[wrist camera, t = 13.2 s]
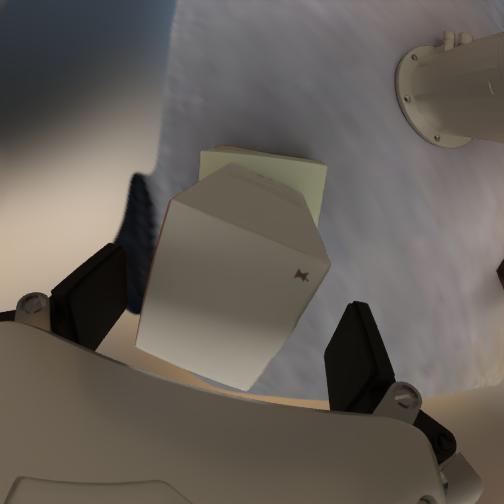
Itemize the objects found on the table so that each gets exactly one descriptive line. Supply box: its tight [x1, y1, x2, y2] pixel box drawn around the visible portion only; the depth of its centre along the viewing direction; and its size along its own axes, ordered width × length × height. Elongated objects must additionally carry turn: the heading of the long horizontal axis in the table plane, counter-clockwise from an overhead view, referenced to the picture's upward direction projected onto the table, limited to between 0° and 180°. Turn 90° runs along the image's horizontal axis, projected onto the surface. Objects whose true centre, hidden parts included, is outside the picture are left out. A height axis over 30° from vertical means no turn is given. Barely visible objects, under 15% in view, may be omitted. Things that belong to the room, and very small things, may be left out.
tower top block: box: [199, 148, 328, 227], centre depth 24 cm, size 10×10×4 cm
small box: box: [135, 163, 331, 391], centre depth 17 cm, size 8×6×13 cm
